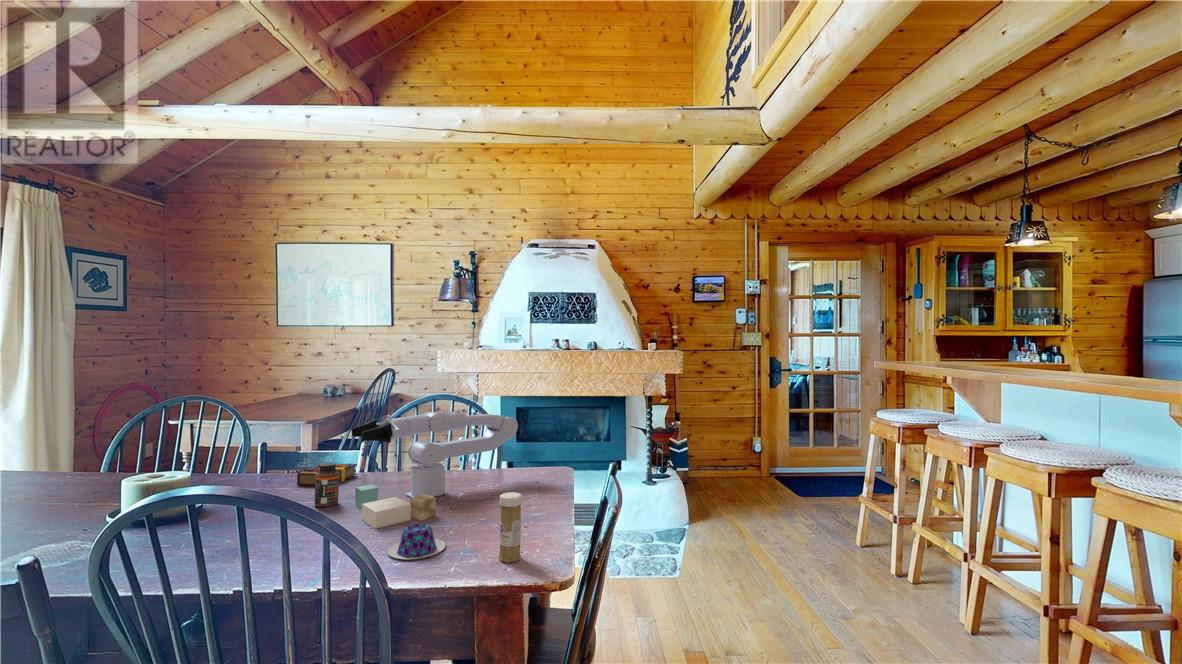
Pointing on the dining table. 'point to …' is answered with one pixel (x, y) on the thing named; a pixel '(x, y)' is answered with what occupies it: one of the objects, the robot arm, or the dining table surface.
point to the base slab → (386, 512)
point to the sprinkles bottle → (510, 527)
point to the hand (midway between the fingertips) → (356, 434)
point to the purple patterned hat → (416, 543)
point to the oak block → (422, 507)
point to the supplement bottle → (327, 485)
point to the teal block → (366, 495)
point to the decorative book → (310, 474)
